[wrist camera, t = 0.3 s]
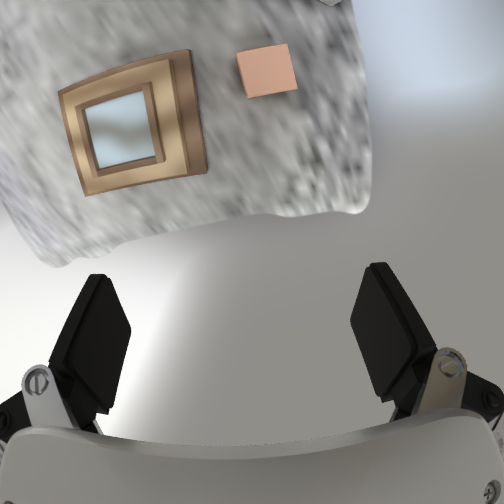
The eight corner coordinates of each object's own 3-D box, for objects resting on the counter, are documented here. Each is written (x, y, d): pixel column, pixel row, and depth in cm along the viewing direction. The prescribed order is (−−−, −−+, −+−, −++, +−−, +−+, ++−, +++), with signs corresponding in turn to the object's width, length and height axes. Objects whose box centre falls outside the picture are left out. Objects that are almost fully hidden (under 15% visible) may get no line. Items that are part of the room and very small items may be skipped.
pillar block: (235, 57, 27) (236, 53, 22) (276, 49, 27) (286, 43, 21) (245, 94, 30) (248, 98, 25) (285, 86, 30) (297, 88, 24)
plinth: (65, 89, 26) (44, 94, 22) (190, 50, 26) (183, 46, 22) (90, 191, 36) (75, 207, 31) (208, 168, 36) (204, 182, 31)
